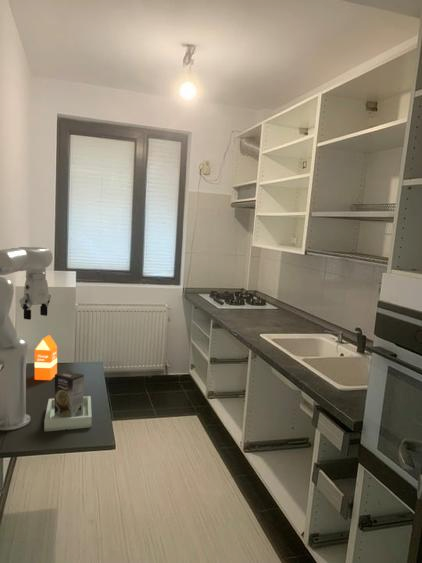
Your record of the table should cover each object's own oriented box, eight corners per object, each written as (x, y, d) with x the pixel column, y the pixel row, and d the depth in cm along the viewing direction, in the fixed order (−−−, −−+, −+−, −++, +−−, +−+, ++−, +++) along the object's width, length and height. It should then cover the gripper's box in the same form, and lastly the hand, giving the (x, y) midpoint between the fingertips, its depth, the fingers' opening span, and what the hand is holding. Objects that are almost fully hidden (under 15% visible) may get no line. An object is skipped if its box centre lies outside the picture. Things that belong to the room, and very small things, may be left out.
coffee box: (53, 415, 155) (53, 374, 153) (66, 409, 160) (66, 369, 159) (71, 421, 151) (71, 378, 149) (83, 414, 156) (84, 374, 155)
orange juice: (57, 374, 203) (57, 334, 201) (50, 380, 194) (50, 339, 192) (41, 373, 203) (41, 334, 201) (34, 379, 194) (34, 338, 192)
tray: (91, 427, 149) (91, 416, 148) (44, 431, 144) (44, 420, 143) (90, 405, 168) (90, 396, 167) (48, 408, 163) (48, 398, 162)
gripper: (28, 279, 160) (28, 321, 162) (57, 276, 177) (56, 314, 178) (12, 277, 162) (12, 319, 164) (42, 274, 179) (42, 313, 181)
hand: (35, 317), depth 171 cm, fingers open, 9 cm apart
